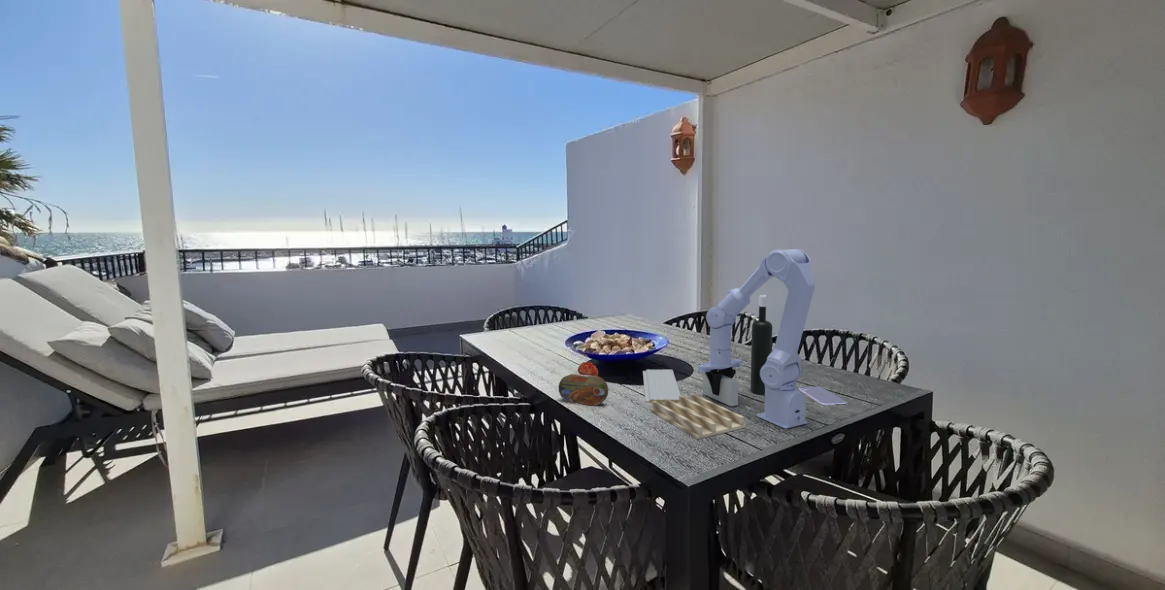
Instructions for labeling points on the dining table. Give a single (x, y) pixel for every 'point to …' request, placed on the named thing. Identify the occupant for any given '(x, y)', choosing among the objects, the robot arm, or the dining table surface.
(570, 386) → the tin
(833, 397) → the mobile phone
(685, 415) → the rack
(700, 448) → the dining table surface
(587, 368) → the pomegranate
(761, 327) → the wine bottle
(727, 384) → the gray rectangular block
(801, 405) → the robot arm
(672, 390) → the baseboard molding
